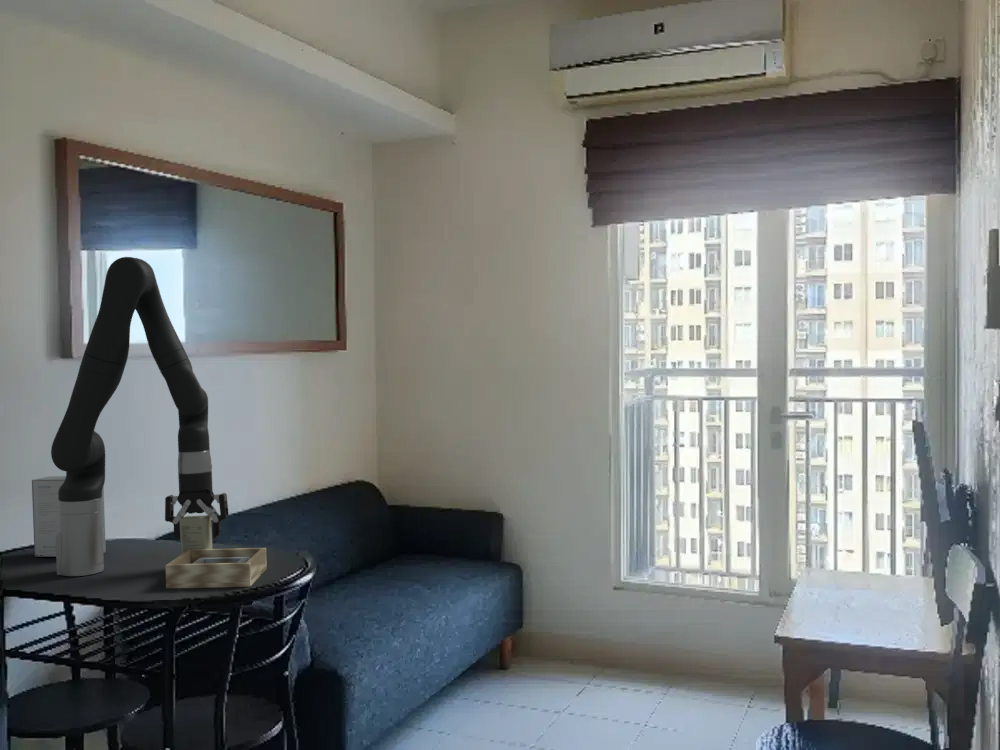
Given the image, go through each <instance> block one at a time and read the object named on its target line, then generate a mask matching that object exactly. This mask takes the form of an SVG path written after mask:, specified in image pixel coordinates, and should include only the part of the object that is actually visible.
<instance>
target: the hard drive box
mask: <svg viewBox="0 0 1000 750" xmlns="http://www.w3.org/2000/svg"><path fill="white" fill-rule="evenodd" d="M65 478H66V475H57V476H56V475H52V476H51V475H50V476H49V475H48V476H45V477H40V478H36V479H32V480H31V496H32V498H31V499H32V500H31V501H32V520H33V525H32V527H33V546H34V547H33V549H34V550H33V552H34V556H35V555H38V556H40V555H43V556H56V534H57V533H59V499H58V491H59V488H60V487H61V486H62V484H63V483H64V481H65ZM104 492H105V490H104V486H103V489H102V520H103V554H104V553H106V552H107V549H106V548H107V544H106V519H105V518H106V517H105V496H104Z"/></svg>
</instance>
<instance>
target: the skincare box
mask: <svg viewBox="0 0 1000 750" xmlns="http://www.w3.org/2000/svg"><path fill="white" fill-rule="evenodd" d="M179 522H180V555H181V554H183V553H184V552H186V551H187V550H190V549H214V547H213V525H212V519H211V518H210V516H208V515H207V514H205V515H203V514H201V515H185V516H184V517H183V518H181V519H179Z"/></svg>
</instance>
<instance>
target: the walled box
mask: <svg viewBox="0 0 1000 750" xmlns="http://www.w3.org/2000/svg"><path fill="white" fill-rule="evenodd" d="M267 566H268V565H267V547H244V548H243V547H242V548H240V547H239V548H238V547H237V548H213V549H190V550H187V551H186V552H184V553H183V554H181V553H180V555H179V556H177V557H176V558H174V559H173V560H171V561H169V563H167V564H166V565H165V589H203V588H243V587H244V588H245V587H246V588H247V587H252V585H253V584H254V583H255V582H257V580H258V579H259V578H260V577H261V576H262V575H263V573H264V572H266V571H267ZM261 574H262V575H261Z"/></svg>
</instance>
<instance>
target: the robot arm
mask: <svg viewBox="0 0 1000 750" xmlns="http://www.w3.org/2000/svg"><path fill="white" fill-rule="evenodd" d="M158 284H159V283H158V282H157V279H156V275H155V272H154V269H153V268H152V266H151V265H150V263H148V262H147V261H145V260H143V259H141V258H138V257H134V256H133V257H131V256H123V257H120V258H117V259H115V260H114V261H113V262H112V263H111V264H110V266H108V269H107V271H106V275H105V281H104V286H103V290H102V296H101V300H100V306H99V310H98V312H97V316H96V319H95V322H94V324H93V325H92V329H91V332H90V335H89V337H88V341H87V344H86V346H85V350H84V353H83V355H82V359H81V362H80V365H79V369H78V373H77V376H76V379H75V382H74V386H73V388H72V392H71V396H70V399H69V402H68V406H67V408H66V411H65V413H64V416H63V419H62V421H61V423H60V425H59V427H58V430H57V432H56V434H55V436H54V439H53V441H52V444H51V449H50V454H51V456H50V457H51V460H52V462H53V464H54V466H55V467H56V468H58V469H59V470H60V471H62V472H65V473H66V475H65V476H66V478H65V481H64V483H63V484H62V486H61V487H60V488H59V491H58V499H59V533H57V534H56V558H55V559H56V560H55V562H56V576H65V577H80V576H90V575H95V574H98V573H101V572H103V571H104V568H105V566H104V565H105V564H104V563H105V561H104V560H105V559H104V553H103V520H102V489H103V487H104V485H105V481H106V448H105V447H106V446H105V443H104V440H103V438H102V437H101V435H100V434H99V433H98V432H96V431H95V429H96V424H97V422H98V420H99V417H100V415H101V414H102V412H103V410H104V408H105V407H106V405H108V403H109V401H110V400H111V398H112V396H113V395H114V394H115V392H116V390H117V388H118V387H119V385H120V382H121V380H122V378H123V374H124V371H125V369H126V365H127V362H128V357H129V350H130V336H131V334H130V333H131V324H132V319H133V317H134V313H135V311H136V313H137V315H138V317H139V319H140V320H141V321H140V322H141V324H142V326H143V330H144V334H145V338H146V341H147V345H148V347H149V350H150V352H151V355H152V357H153V360H154V361H155V363H156V366H157V367H158V370H159V371H160V373H161V376H162V377H163V378H164V380H165V383H166V386H167V389H168V391H169V394H170V396H171V399H172V400H173V403H174V405H175V406H176V409H177V411H178V412H177V414H178V427H179V428H178V432H177V448H178V452H177V453H178V454H177V474H178V475H177V476H178V477H177V478H178V495H173V494H169V495H167V496H166V497H165V498H164V521H166V522H168V523H169V522H170V523H172V525H173V536H174V538H176V540H177V541H179V540H180V522H179V519H181V518H183V517H185V516H187V514H192V515H193V514H195V513H196V514H203V513H205V515H208V516H210V518H211V521H213V522H212V539H218V538H219V537H220V535H221V534H222V523H221V522H222V521H224V520H226V519H227V518H229V515H230V514H229V504H228V497H227V496H228V495H227V493H226V492H222V493H219V494H217V493H216V494H215V493H214V492H213V470H212V469H213V464H212V457H211V450H210V449H211V448H210V435H209V428H208V427H209V425H208V423H209V398H208V393H207V392H206V391H205V389H203V388H202V386H201V384H200V382H199V380H198V378H197V377H196V375H195V372H194V371H193V366H192V362H191V360H190V359H189V356H188V354H187V352H186V349H185V347H184V345H183V344H182V342H181V339H180V337H179V336H178V334H177V332H176V329H175V328H174V326H173V323H172V321H171V319H170V316H169V314H168V312H167V309H166V307H165V304H164V302H163V299H162V295H161V292H160V289H159V285H158ZM214 500H215V501H216V503H217V504H219V512H220V514H219V513H218V511H217V509H216V508H215V507H214V506H213V505H212V504H213V502H214ZM177 502H178V503H179V505H180V506H181V508H180V509H179V511H178V512H177V514H176V515H175V512H174V511H175V505H176V503H177ZM174 515H175V516H174Z"/></svg>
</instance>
